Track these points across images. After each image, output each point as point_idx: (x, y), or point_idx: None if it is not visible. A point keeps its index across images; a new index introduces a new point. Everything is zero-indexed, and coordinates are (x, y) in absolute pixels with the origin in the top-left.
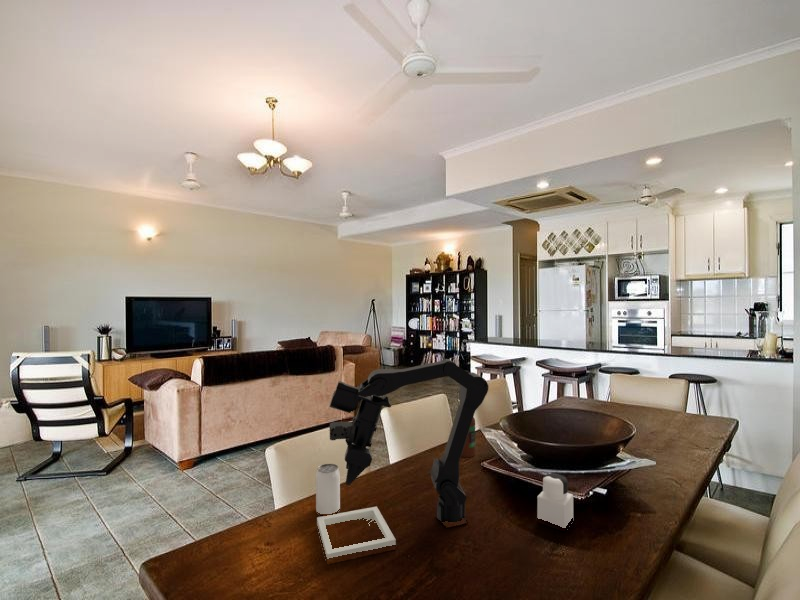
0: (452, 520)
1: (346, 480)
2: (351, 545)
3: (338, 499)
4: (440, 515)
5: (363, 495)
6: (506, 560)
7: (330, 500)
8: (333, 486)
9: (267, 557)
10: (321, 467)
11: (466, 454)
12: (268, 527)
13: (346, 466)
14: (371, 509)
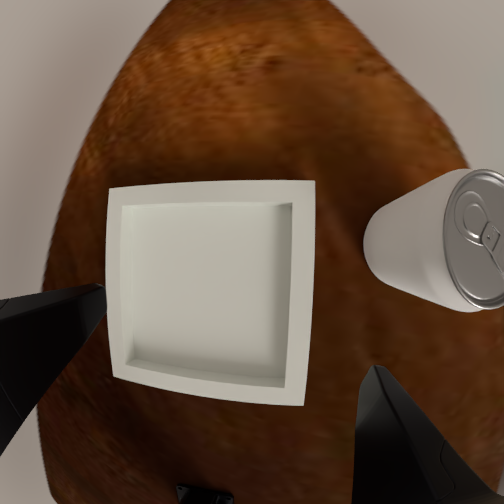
0: (180, 501)
1: (69, 289)
2: (117, 260)
3: (390, 282)
4: (188, 497)
5: (437, 376)
6: (87, 476)
7: (377, 243)
8: (400, 259)
9: (213, 65)
10: None
11: None
12: (352, 67)
13: (376, 374)
14: (291, 385)
